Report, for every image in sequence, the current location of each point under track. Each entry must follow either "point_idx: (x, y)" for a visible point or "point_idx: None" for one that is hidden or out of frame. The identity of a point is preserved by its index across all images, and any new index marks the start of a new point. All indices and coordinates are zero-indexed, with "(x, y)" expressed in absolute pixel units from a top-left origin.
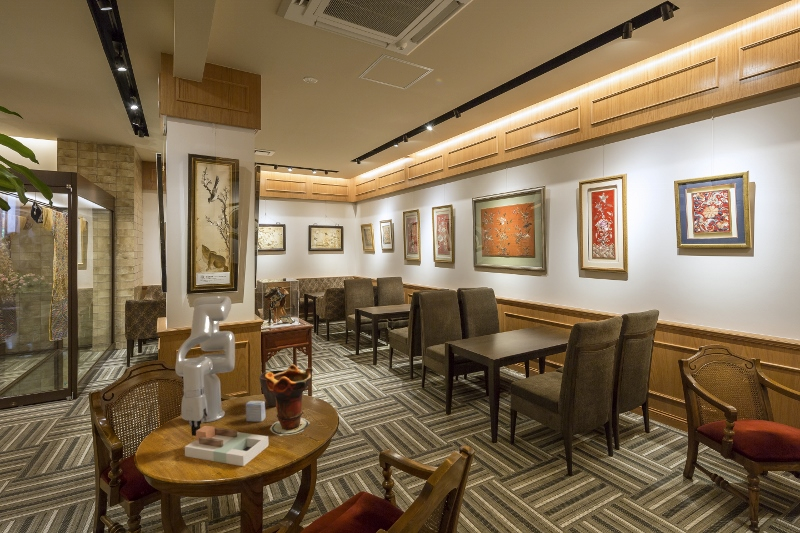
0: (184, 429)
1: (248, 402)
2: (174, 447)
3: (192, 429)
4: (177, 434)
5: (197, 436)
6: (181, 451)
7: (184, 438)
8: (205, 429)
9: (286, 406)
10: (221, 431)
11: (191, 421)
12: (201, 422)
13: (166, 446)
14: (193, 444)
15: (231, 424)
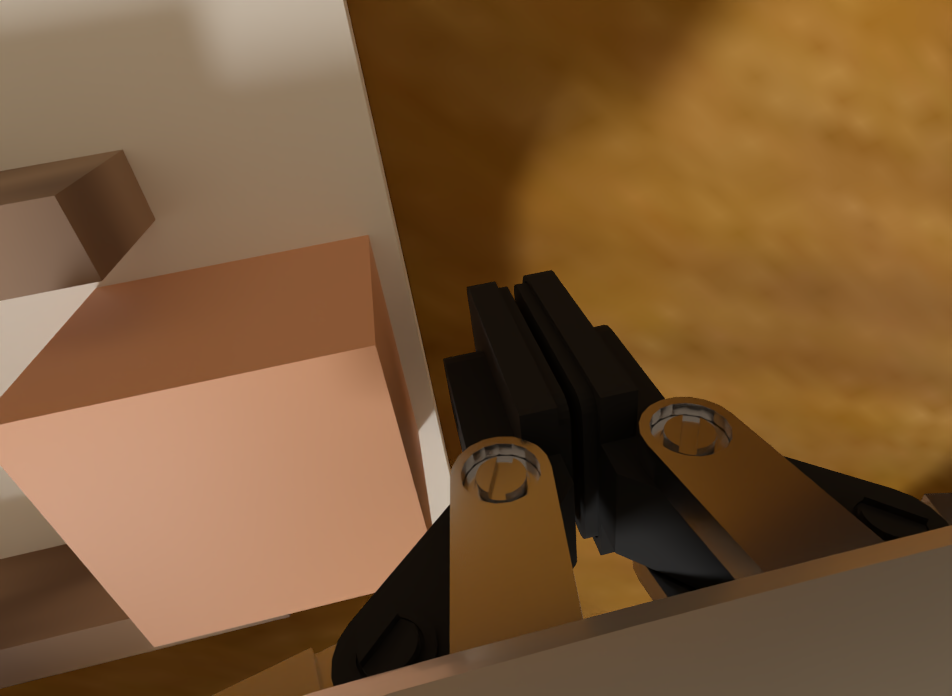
0: (921, 410)
1: None
2: (769, 59)
3: (571, 353)
4: (941, 315)
5: (328, 279)
6: (553, 10)
7: (794, 296)
8: (204, 505)
9: None
10: (80, 603)
11: (731, 539)
12: (301, 669)
13: (916, 23)
14: (217, 63)
15: None
